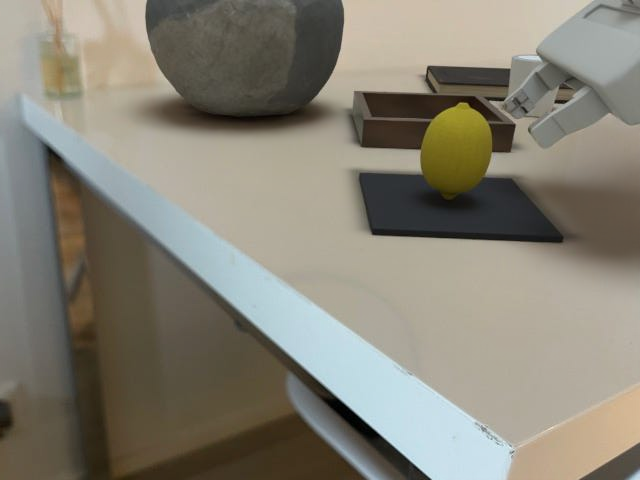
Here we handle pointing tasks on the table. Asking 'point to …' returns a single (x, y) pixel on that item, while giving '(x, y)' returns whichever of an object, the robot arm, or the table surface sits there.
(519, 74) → the white cup
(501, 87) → the hardcover book
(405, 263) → the table surface
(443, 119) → the lemon
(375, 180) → the pad
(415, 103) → the tray
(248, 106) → the bowl
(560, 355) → the table surface
